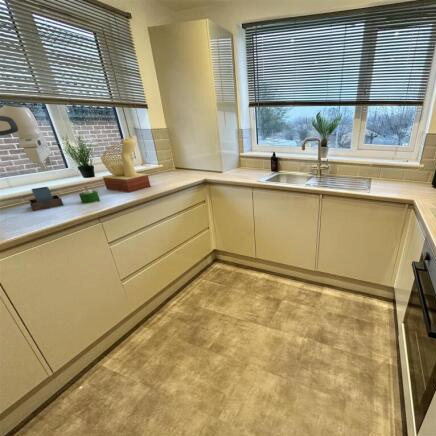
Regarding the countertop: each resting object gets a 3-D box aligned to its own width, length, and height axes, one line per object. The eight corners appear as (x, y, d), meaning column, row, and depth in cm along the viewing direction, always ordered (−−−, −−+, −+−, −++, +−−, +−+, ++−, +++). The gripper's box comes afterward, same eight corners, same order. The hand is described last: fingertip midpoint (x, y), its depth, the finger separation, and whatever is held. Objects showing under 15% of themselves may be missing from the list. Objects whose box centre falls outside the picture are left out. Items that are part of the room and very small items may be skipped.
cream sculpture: (152, 186, 171) (139, 135, 158) (128, 193, 156) (112, 136, 143) (129, 184, 180) (115, 135, 167) (104, 190, 165) (86, 136, 152)
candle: (82, 201, 141) (76, 185, 137) (99, 198, 145) (94, 182, 142) (81, 205, 135) (75, 187, 131) (100, 202, 139) (94, 185, 135)
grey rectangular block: (40, 208, 129) (32, 190, 125) (38, 206, 133) (31, 188, 129) (56, 205, 133) (48, 188, 129) (54, 203, 137) (47, 186, 133)
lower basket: (33, 212, 125) (29, 204, 123) (31, 207, 132) (27, 199, 131) (64, 206, 134) (61, 198, 132) (60, 202, 141) (57, 194, 139)
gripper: (31, 136, 125) (45, 162, 132) (17, 145, 110) (33, 173, 117) (47, 135, 128) (59, 161, 135) (35, 143, 113) (50, 171, 120)
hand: (47, 167), depth 126 cm, fingers open, 8 cm apart
